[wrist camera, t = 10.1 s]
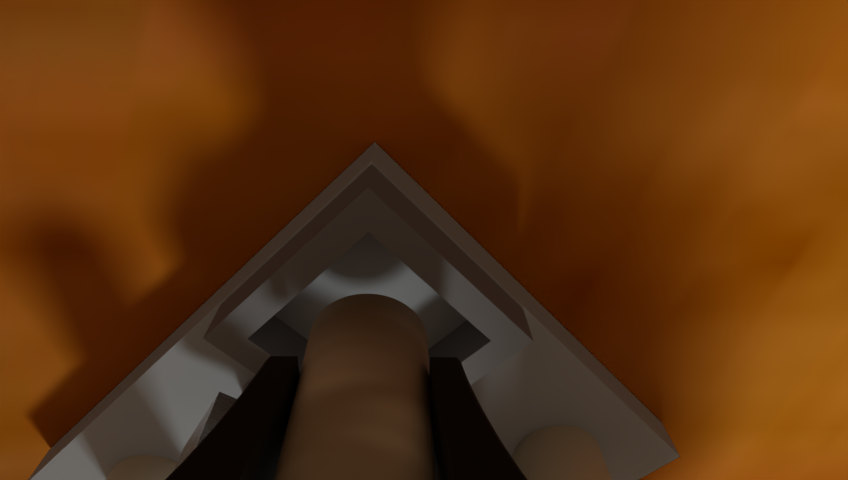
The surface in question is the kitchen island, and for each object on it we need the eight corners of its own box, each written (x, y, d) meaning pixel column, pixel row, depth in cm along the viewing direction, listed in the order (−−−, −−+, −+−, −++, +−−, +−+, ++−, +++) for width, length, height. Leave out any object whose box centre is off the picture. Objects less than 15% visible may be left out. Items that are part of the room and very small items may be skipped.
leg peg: (432, 296, 13) (450, 528, 8) (422, 388, 15) (432, 637, 9) (308, 290, 13) (242, 524, 8) (310, 384, 14) (256, 636, 9)
